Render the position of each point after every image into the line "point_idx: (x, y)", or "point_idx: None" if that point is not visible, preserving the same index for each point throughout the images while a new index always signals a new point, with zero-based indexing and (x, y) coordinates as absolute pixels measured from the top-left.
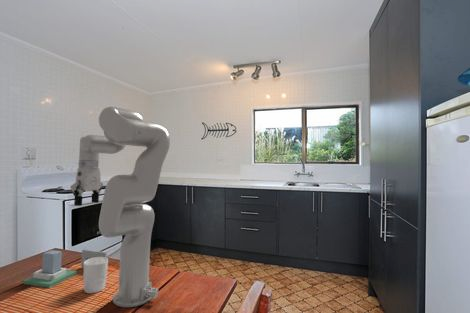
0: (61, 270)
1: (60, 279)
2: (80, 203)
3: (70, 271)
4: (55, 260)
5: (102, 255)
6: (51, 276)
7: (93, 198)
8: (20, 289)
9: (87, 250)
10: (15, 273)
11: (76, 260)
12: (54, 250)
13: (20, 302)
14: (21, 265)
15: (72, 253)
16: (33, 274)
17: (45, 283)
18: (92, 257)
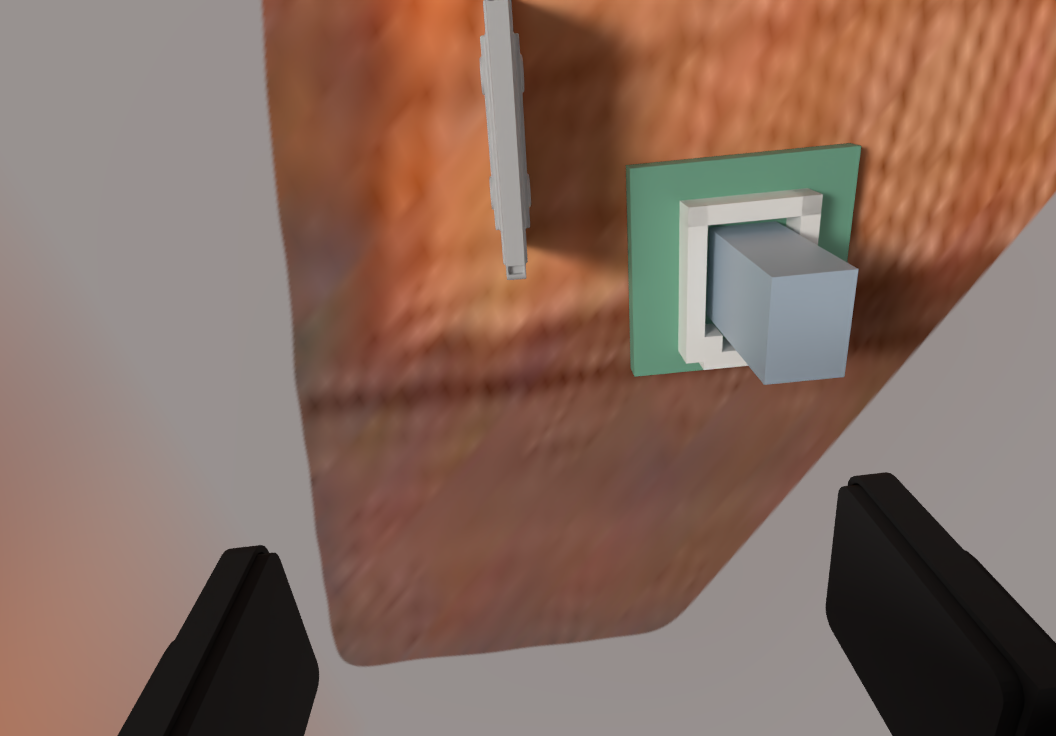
0: (729, 219)
1: (774, 154)
2: (912, 511)
3: (648, 209)
4: (807, 255)
5: (511, 16)
6: (819, 199)
7: (277, 729)
8: (891, 288)
9: (519, 223)
10: (718, 513)
11: (431, 388)
12: (766, 355)
13: (1038, 123)
14: (620, 588)
15: (346, 522)
16: None
17: (853, 185)
18: (521, 141)
